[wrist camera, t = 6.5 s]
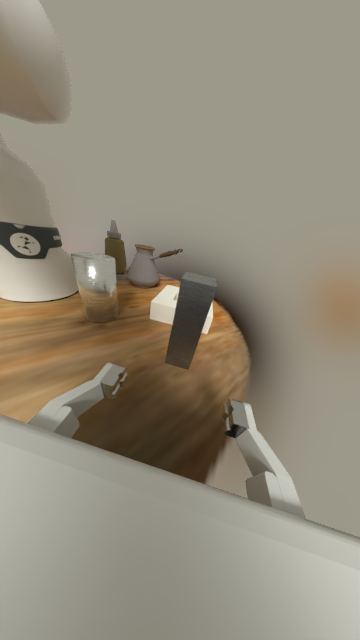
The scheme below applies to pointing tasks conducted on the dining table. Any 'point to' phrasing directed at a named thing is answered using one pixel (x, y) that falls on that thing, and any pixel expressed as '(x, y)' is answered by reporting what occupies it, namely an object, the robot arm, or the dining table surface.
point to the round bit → (96, 285)
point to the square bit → (189, 317)
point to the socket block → (171, 307)
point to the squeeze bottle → (115, 248)
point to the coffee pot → (146, 266)
